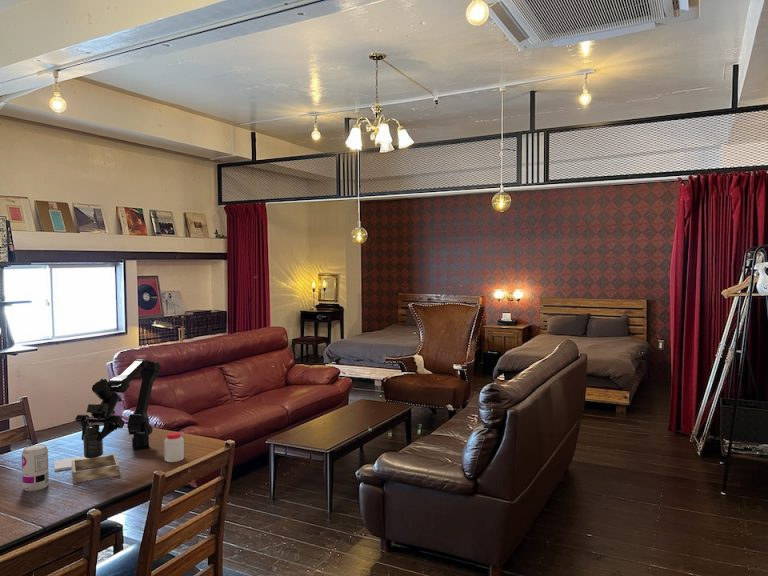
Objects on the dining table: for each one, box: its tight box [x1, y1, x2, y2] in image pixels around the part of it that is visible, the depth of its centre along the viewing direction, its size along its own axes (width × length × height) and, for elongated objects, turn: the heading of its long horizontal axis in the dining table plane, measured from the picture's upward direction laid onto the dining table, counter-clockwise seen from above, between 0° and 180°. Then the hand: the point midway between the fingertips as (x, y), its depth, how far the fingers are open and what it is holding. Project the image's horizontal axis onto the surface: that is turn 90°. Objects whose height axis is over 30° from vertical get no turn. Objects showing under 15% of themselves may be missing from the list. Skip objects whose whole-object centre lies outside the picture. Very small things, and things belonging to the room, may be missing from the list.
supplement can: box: [21, 444, 50, 492], centre depth 210 cm, size 8×8×15 cm
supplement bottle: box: [82, 424, 104, 458], centre depth 225 cm, size 7×7×12 cm
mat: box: [54, 455, 85, 472], centre depth 235 cm, size 12×12×1 cm
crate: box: [71, 453, 121, 484], centre depth 225 cm, size 16×16×4 cm
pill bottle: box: [163, 431, 185, 463], centre depth 241 cm, size 8×8×11 cm
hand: (90, 440), depth 224 cm, fingers closed on supplement bottle, 7 cm apart
